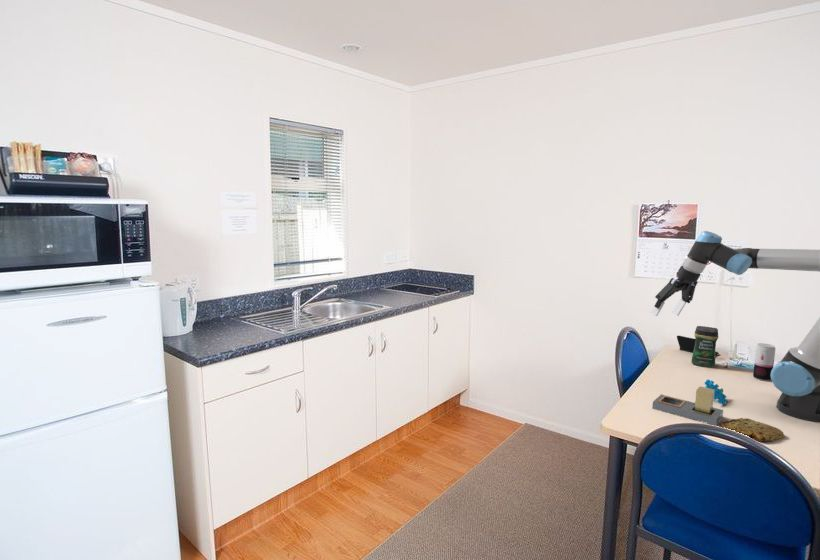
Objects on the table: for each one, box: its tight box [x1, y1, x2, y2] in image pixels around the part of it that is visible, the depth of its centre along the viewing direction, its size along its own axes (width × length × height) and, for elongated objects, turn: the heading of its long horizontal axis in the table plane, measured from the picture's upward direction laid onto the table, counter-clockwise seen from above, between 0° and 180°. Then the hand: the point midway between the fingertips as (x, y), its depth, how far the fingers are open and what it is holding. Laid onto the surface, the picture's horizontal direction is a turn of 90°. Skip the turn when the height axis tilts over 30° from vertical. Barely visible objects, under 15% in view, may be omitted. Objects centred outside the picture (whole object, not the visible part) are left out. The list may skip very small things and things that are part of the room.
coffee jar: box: [690, 325, 719, 368], centre depth 219 cm, size 10×8×19 cm
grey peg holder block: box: [652, 394, 724, 426], centre depth 167 cm, size 20×10×3 cm, turn 46°
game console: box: [676, 335, 720, 357], centre depth 240 cm, size 16×14×9 cm
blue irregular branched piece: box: [703, 379, 728, 405], centre depth 178 cm, size 11×6×10 cm
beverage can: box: [752, 342, 777, 382], centre depth 202 cm, size 7×7×15 cm
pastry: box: [720, 417, 785, 442], centre depth 153 cm, size 17×17×3 cm
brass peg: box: [694, 385, 715, 415], centre depth 163 cm, size 4×4×10 cm
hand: (664, 314), depth 191 cm, fingers open, 13 cm apart
